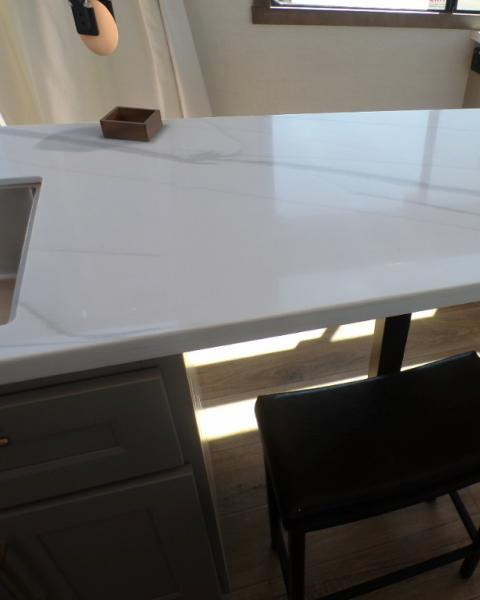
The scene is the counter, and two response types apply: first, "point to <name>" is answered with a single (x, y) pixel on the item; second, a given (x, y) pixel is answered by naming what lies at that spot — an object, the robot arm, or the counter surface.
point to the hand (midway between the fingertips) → (97, 29)
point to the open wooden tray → (131, 123)
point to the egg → (102, 31)
